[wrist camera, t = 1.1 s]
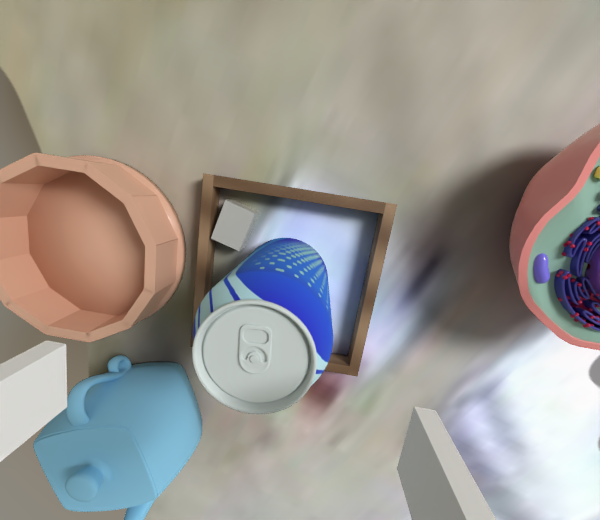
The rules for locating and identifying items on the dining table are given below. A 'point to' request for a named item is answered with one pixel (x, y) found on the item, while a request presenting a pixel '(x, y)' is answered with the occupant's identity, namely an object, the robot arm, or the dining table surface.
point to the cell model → (562, 243)
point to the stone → (234, 224)
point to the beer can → (265, 329)
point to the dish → (85, 245)
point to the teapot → (121, 437)
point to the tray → (385, 210)
